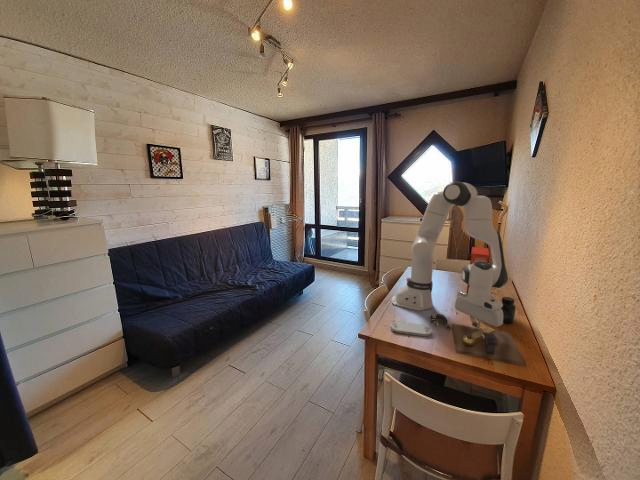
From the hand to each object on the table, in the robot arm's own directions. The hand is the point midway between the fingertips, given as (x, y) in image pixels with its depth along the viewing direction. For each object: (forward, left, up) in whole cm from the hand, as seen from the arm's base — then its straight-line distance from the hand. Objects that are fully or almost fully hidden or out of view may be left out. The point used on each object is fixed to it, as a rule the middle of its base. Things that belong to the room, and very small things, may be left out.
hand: (475, 326), depth 121 cm
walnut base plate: (+2, -10, -3) cm, 10 cm away
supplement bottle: (+15, +16, -3) cm, 23 cm away
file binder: (+3, +29, -3) cm, 30 cm away
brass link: (0, -9, -1) cm, 9 cm away
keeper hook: (+2, -16, -1) cm, 16 cm away
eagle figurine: (-15, 0, -3) cm, 15 cm away
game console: (-28, -9, -3) cm, 29 cm away
